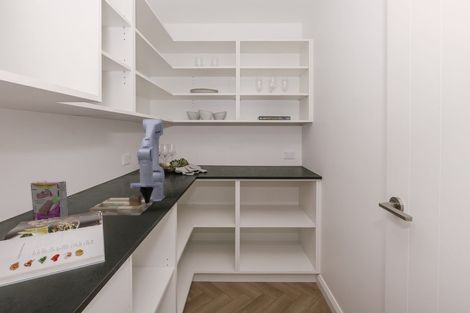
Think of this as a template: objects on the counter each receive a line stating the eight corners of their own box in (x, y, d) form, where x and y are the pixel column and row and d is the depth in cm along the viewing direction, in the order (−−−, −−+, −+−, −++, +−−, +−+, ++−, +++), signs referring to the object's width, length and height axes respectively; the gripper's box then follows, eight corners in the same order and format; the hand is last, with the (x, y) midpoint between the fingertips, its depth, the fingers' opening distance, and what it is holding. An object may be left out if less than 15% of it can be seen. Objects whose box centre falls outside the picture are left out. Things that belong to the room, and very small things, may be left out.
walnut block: (133, 203, 110) (132, 195, 110) (141, 203, 110) (141, 195, 110) (129, 206, 106) (129, 197, 106) (138, 206, 106) (137, 197, 106)
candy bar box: (32, 222, 95) (29, 183, 93) (42, 218, 100) (39, 180, 98) (60, 222, 95) (57, 182, 94) (69, 217, 100) (66, 180, 99)
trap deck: (110, 203, 121) (110, 197, 120) (153, 203, 121) (152, 197, 121) (89, 215, 103) (89, 209, 102) (140, 215, 103) (139, 208, 103)
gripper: (126, 175, 103) (128, 205, 104) (159, 175, 103) (160, 205, 105) (133, 173, 110) (134, 201, 111) (164, 172, 110) (164, 200, 112)
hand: (147, 202), depth 108 cm, fingers closed
